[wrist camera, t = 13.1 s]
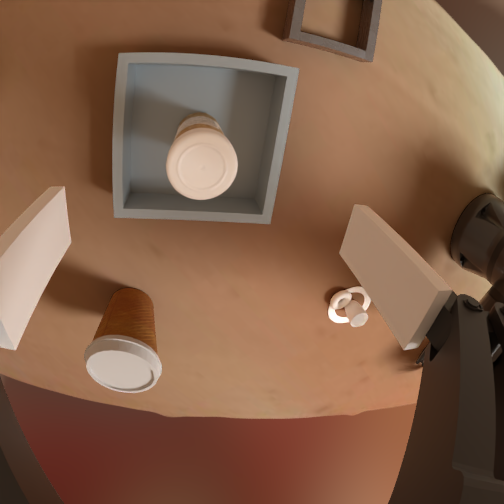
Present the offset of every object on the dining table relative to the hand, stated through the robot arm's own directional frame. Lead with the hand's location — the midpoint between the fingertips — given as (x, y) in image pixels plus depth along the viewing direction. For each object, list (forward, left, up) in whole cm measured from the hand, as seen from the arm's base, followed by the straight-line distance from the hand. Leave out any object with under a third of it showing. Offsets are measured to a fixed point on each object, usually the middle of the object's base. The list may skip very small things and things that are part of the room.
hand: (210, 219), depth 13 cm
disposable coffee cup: (+8, +24, -21) cm, 33 cm away
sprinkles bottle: (0, 0, -20) cm, 20 cm away
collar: (-12, -16, -21) cm, 29 cm away
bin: (0, 0, -21) cm, 21 cm away
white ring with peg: (-26, +21, -22) cm, 40 cm away
